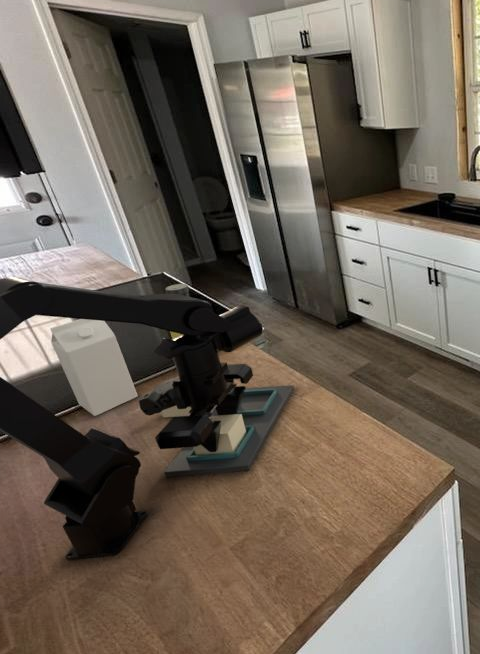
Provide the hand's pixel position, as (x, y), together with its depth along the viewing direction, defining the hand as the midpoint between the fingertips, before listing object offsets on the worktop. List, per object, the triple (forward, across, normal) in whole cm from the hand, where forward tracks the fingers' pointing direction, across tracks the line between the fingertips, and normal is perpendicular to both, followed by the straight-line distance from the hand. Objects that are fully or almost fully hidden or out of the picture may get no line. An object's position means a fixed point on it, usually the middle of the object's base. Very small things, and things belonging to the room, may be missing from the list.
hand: (221, 439), depth 74 cm
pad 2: (+1, 0, 0) cm, 1 cm away
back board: (+2, -6, 0) cm, 6 cm away
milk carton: (+2, -16, -30) cm, 34 cm away
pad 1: (+2, -12, -13) cm, 18 cm away
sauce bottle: (+2, -30, -20) cm, 36 cm away
